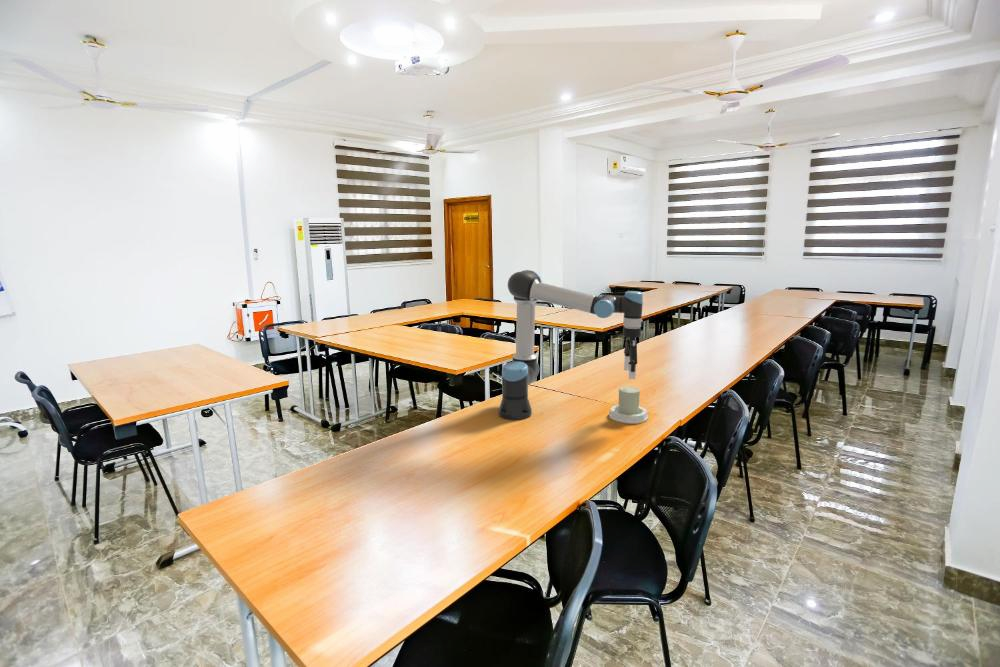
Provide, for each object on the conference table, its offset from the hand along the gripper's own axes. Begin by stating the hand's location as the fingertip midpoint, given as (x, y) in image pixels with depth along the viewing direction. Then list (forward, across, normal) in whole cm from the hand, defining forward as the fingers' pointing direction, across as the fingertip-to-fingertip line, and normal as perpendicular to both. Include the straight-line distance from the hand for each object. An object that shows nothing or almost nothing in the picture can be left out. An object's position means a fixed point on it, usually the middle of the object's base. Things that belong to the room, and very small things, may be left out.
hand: (629, 374), depth 219 cm
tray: (+20, 0, -1) cm, 20 cm away
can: (+19, 0, 0) cm, 19 cm away
